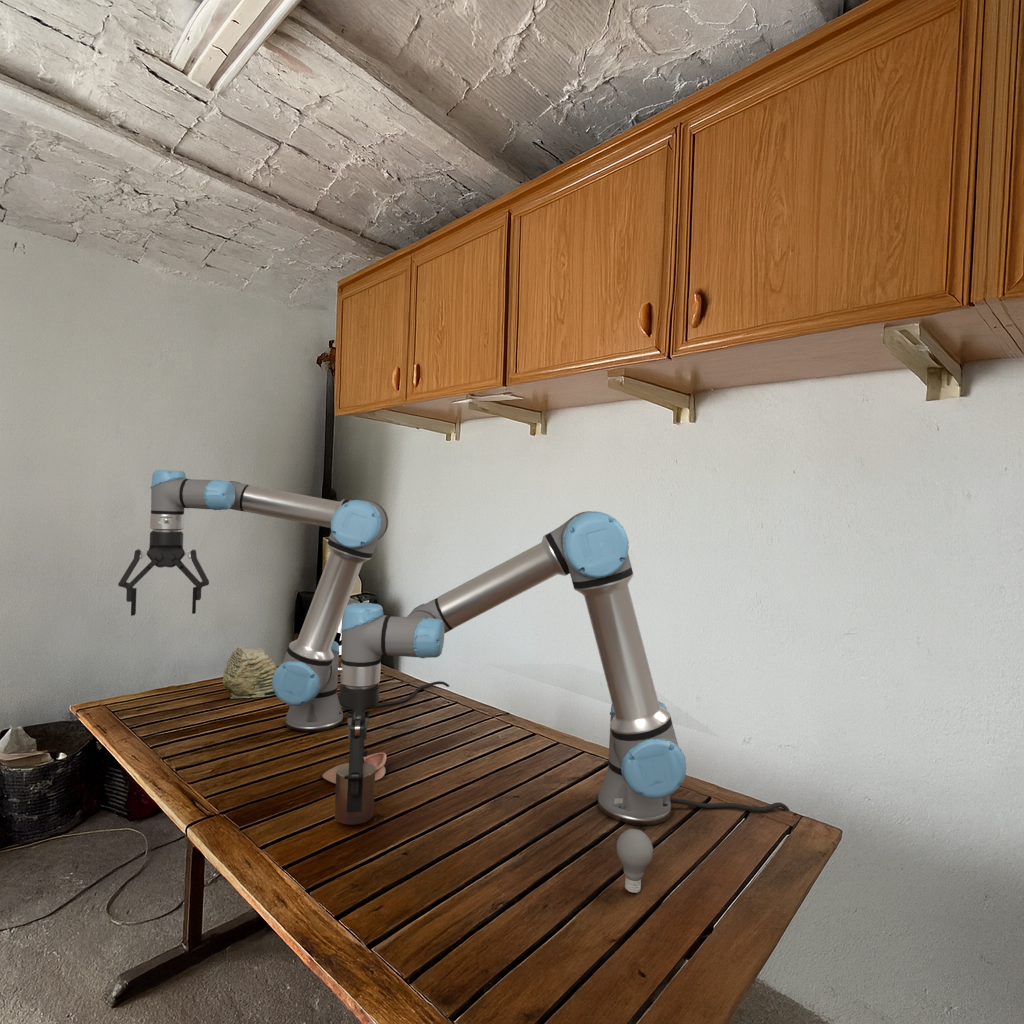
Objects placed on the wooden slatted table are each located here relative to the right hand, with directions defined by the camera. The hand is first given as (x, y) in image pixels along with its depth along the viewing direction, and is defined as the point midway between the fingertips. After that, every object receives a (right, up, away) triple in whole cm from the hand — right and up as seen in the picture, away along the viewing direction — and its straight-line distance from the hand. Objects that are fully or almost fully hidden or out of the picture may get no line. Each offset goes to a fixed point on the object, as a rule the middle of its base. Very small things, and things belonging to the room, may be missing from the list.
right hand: (355, 800), depth 123 cm
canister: (0, -3, 0) cm, 3 cm away
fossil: (-50, -1, +75) cm, 90 cm away
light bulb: (+51, -7, -18) cm, 54 cm away
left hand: (-58, +30, +39) cm, 76 cm away
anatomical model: (-5, -4, +21) cm, 22 cm away
